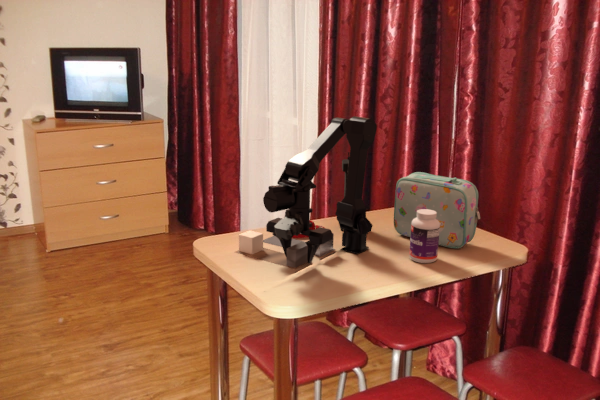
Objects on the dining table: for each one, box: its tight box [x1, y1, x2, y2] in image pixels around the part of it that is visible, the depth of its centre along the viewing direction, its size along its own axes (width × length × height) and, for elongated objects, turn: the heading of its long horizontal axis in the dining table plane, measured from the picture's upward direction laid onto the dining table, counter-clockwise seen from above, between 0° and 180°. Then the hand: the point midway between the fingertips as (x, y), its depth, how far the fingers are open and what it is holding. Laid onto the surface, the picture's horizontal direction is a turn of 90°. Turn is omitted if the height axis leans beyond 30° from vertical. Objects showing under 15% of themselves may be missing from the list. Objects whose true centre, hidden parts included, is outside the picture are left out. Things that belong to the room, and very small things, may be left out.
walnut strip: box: [234, 241, 313, 273], centre depth 180 cm, size 22×8×6 cm, turn 54°
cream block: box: [238, 229, 264, 254], centre depth 184 cm, size 5×5×5 cm
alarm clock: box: [292, 220, 326, 239], centre depth 201 cm, size 10×6×15 cm
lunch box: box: [393, 171, 481, 249], centre depth 197 cm, size 27×10×21 cm, turn 50°
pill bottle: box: [408, 209, 440, 264], centre depth 181 cm, size 8×8×14 cm
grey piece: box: [263, 232, 336, 261], centre depth 189 cm, size 22×8×6 cm, turn 54°
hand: (298, 260), depth 175 cm, fingers open, 7 cm apart
